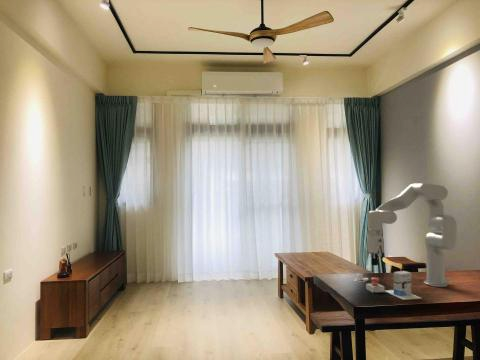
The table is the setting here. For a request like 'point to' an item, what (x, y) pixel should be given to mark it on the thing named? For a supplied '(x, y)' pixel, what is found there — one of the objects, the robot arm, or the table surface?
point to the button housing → (375, 288)
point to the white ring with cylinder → (359, 276)
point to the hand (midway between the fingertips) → (374, 265)
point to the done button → (374, 281)
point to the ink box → (402, 283)
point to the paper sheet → (405, 297)
